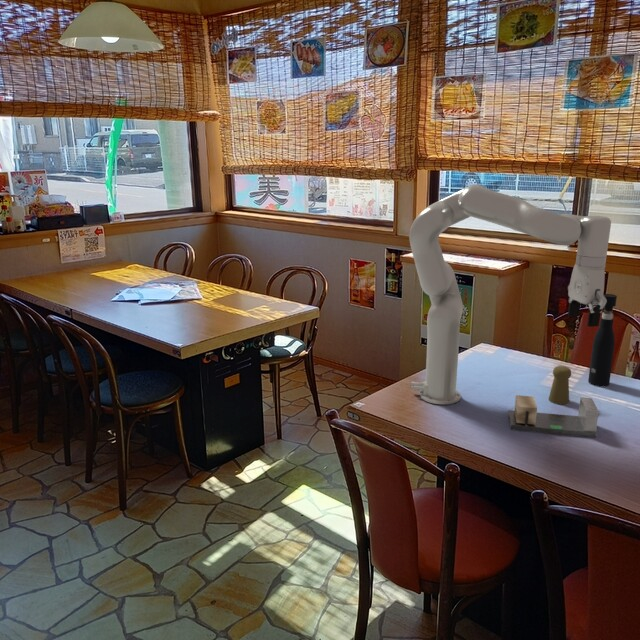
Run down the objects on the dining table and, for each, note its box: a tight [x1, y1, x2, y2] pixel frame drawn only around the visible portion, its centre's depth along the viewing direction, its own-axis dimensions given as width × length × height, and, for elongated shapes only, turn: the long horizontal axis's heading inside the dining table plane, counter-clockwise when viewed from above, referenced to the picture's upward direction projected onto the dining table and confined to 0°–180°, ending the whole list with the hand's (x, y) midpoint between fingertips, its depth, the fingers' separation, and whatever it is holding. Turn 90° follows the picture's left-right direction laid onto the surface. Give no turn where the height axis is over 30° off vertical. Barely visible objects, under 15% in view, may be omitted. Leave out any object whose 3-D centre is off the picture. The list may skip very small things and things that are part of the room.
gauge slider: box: [513, 394, 538, 425], centre depth 170 cm, size 5×9×5 cm, turn 167°
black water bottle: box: [587, 293, 618, 388], centre depth 196 cm, size 6×6×30 cm
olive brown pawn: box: [548, 365, 572, 406], centre depth 185 cm, size 6×6×11 cm
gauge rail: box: [507, 397, 599, 438], centre depth 169 cm, size 22×10×8 cm, turn 77°
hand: (582, 321), depth 171 cm, fingers open, 9 cm apart
